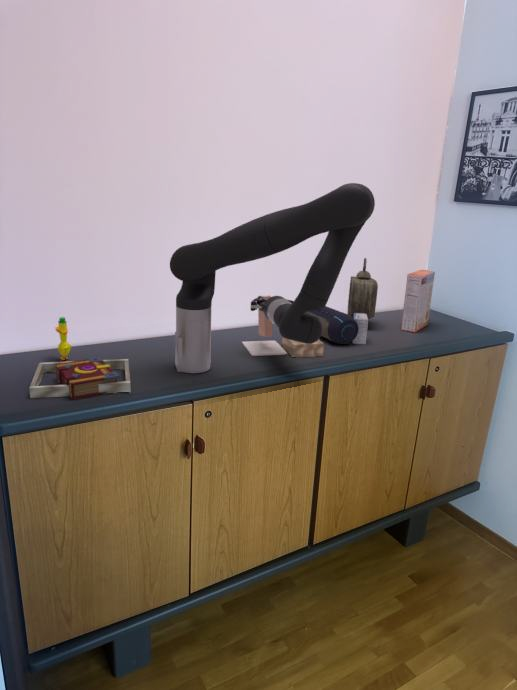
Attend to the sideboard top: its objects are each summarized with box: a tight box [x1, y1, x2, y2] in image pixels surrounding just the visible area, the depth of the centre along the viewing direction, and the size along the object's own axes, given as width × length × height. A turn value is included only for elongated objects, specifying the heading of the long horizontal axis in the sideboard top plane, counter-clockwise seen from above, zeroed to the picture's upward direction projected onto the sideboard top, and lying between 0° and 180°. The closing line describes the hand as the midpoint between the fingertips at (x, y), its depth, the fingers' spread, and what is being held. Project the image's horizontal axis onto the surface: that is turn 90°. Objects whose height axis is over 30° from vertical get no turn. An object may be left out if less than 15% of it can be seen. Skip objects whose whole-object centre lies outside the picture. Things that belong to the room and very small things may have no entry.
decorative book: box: [55, 356, 121, 400], centre depth 123 cm, size 11×16×5 cm
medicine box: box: [351, 313, 369, 346], centre depth 169 cm, size 8×4×9 cm, turn 172°
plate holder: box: [281, 337, 325, 358], centre depth 156 cm, size 9×11×4 cm
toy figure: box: [54, 316, 72, 361], centre depth 138 cm, size 7×4×12 cm, turn 42°
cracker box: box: [400, 269, 436, 333], centre depth 186 cm, size 14×6×21 cm, turn 144°
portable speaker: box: [306, 305, 359, 345], centre depth 172 cm, size 25×10×10 cm, turn 29°
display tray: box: [28, 358, 132, 399], centre depth 125 cm, size 22×17×2 cm
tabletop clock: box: [347, 257, 379, 320], centre depth 185 cm, size 14×9×25 cm, turn 172°
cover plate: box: [257, 295, 273, 338], centre depth 156 cm, size 2×7×12 cm, turn 15°
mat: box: [241, 340, 289, 357], centre depth 157 cm, size 11×13×1 cm
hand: (263, 299), depth 156 cm, fingers closed on cover plate, 2 cm apart
